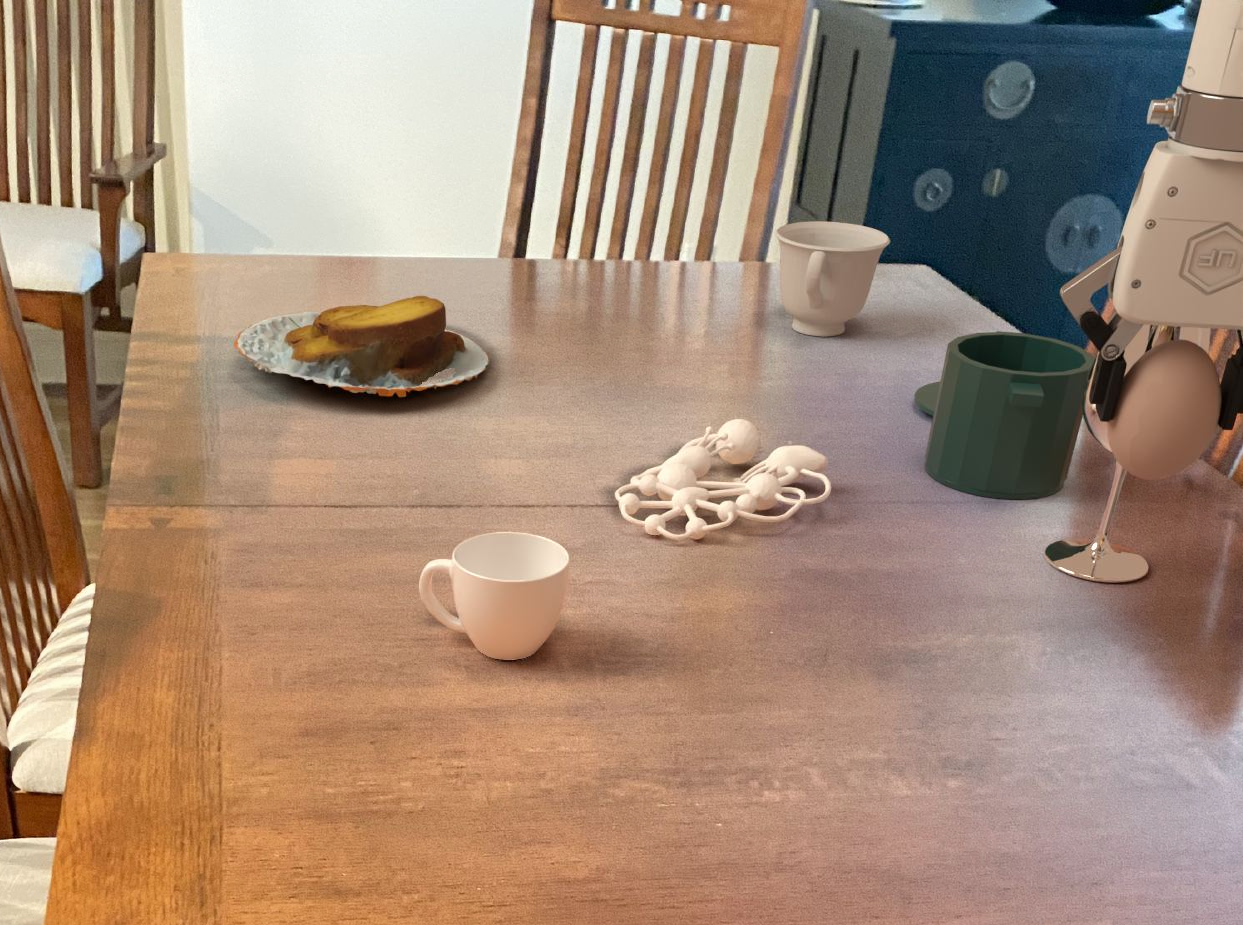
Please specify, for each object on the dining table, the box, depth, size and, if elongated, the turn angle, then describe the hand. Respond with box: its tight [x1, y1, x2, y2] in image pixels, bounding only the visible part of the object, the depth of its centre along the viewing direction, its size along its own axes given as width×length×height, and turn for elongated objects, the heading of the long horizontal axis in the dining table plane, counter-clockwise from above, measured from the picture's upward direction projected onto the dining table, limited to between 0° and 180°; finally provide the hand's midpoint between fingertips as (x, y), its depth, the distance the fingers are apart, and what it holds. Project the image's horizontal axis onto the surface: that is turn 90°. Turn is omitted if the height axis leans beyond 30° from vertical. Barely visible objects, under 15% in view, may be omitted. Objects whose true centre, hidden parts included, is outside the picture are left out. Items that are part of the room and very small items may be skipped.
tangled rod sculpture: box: [614, 418, 832, 541], centre depth 122 cm, size 19×14×4 cm
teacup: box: [774, 220, 891, 338], centre depth 161 cm, size 12×15×10 cm
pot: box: [924, 330, 1095, 500], centre depth 127 cm, size 12×17×10 cm
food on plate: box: [233, 295, 491, 398], centre depth 149 cm, size 25×25×7 cm
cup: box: [418, 531, 571, 659], centre depth 101 cm, size 8×10×7 cm
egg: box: [1107, 339, 1222, 481], centre depth 98 cm, size 7×7×9 cm
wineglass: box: [1043, 324, 1212, 584], centre depth 110 cm, size 8×8×20 cm
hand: (1162, 416), depth 98 cm, fingers closed on egg, 6 cm apart
